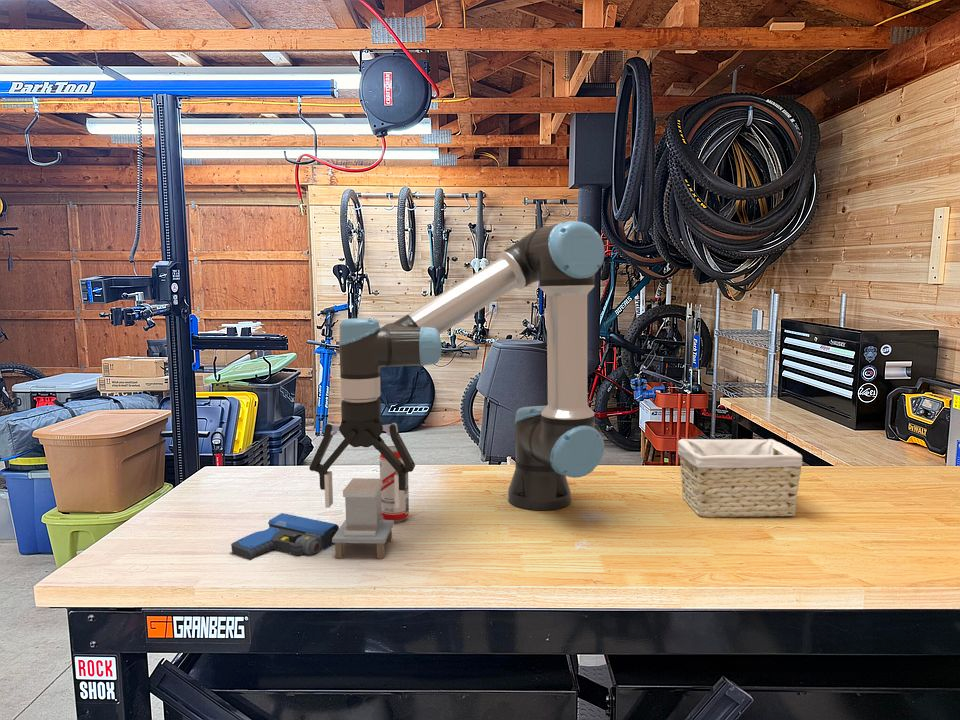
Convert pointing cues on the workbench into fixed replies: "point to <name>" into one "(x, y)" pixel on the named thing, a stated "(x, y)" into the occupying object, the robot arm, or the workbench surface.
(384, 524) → the stand
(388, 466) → the beer can
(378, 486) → the block
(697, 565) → the workbench surface
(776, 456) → the storage basket
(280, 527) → the stun gun
